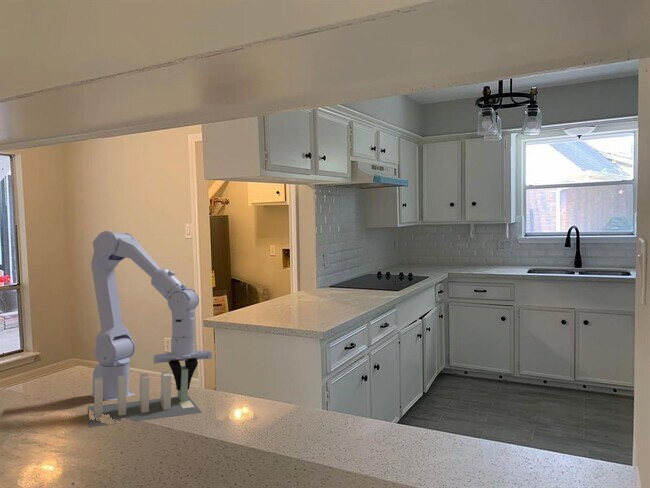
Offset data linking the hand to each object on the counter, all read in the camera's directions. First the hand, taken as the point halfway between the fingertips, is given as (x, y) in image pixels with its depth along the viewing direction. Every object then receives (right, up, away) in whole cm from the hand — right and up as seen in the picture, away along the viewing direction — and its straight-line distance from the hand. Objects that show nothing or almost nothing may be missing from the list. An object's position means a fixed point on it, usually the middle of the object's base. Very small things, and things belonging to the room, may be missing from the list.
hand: (182, 389), depth 128 cm
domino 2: (-11, -2, -12) cm, 16 cm away
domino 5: (0, -3, 0) cm, 3 cm away
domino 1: (-16, -2, -14) cm, 21 cm away
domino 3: (-7, -2, -9) cm, 12 cm away
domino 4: (-2, -2, -7) cm, 8 cm away
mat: (-7, -3, -9) cm, 12 cm away
